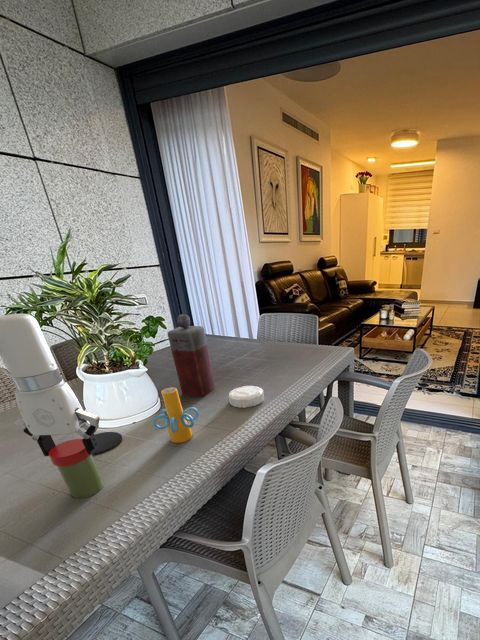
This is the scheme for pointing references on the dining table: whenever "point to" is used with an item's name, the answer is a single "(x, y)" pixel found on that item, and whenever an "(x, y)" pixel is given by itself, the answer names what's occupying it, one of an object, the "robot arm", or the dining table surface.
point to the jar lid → (68, 453)
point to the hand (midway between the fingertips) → (72, 452)
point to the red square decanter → (191, 358)
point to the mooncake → (246, 396)
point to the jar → (82, 478)
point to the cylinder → (176, 417)
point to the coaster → (107, 441)
